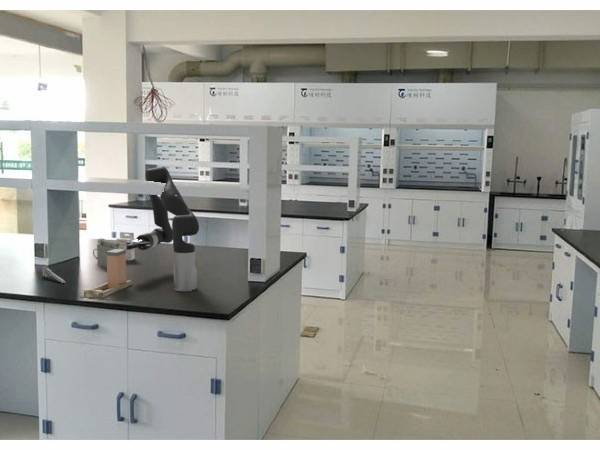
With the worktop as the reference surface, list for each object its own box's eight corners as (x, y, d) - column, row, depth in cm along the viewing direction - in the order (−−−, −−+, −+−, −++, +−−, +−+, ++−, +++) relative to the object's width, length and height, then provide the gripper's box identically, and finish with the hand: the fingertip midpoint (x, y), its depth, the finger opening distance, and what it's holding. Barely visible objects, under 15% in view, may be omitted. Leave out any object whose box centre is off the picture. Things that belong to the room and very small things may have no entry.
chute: (135, 287, 270) (135, 278, 269) (105, 301, 247) (105, 291, 246) (111, 285, 272) (111, 276, 272) (79, 298, 249) (79, 289, 249)
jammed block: (126, 285, 269) (125, 249, 266) (117, 289, 262) (117, 252, 259) (116, 284, 270) (115, 248, 268) (107, 288, 263) (106, 251, 261)
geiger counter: (124, 242, 303) (98, 236, 320) (113, 243, 298) (87, 237, 315) (125, 269, 305) (99, 261, 321) (113, 271, 300) (88, 263, 317)
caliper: (42, 277, 286) (42, 264, 285) (45, 276, 287) (44, 264, 286) (64, 284, 273) (63, 271, 272) (66, 284, 274) (66, 270, 273)
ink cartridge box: (116, 260, 327) (115, 233, 325) (119, 258, 332) (119, 231, 330) (131, 260, 326) (131, 233, 324) (135, 258, 331) (134, 232, 329)
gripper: (134, 232, 291) (115, 238, 275) (159, 234, 288) (141, 240, 271) (134, 247, 292) (115, 254, 276) (159, 249, 289) (141, 256, 273)
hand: (128, 247), depth 274 cm, fingers closed
